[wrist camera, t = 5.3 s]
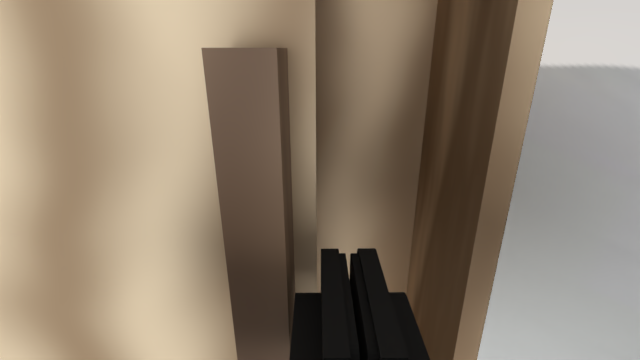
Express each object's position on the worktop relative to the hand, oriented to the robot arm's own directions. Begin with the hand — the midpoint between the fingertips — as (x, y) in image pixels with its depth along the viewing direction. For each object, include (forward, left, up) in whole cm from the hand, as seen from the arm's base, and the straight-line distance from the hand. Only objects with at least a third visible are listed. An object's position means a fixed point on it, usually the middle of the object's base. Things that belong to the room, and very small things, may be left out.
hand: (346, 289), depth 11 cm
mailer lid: (+9, 0, -2) cm, 9 cm away
